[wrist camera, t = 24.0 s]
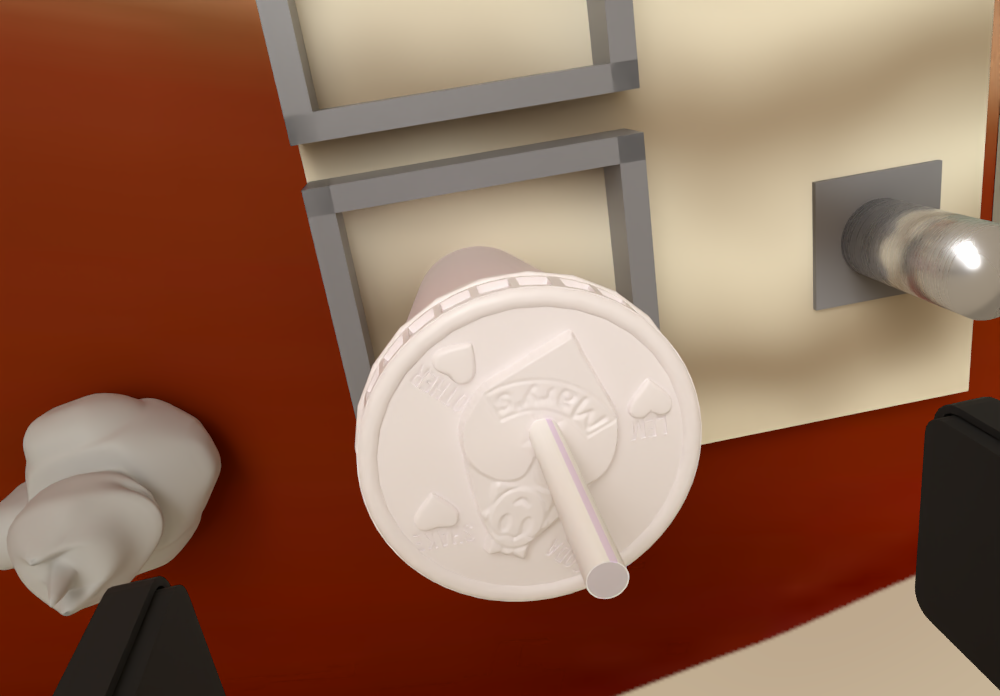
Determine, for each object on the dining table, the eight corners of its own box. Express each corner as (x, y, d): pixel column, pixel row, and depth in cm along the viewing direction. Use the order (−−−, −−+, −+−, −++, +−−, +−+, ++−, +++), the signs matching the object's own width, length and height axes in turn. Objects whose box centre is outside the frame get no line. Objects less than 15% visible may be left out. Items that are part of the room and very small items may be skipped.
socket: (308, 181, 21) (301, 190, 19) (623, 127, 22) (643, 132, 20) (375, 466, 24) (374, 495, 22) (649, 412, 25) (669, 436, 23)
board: (196, -315, 18) (181, -346, 17) (987, -411, 19) (1030, -447, 18) (384, 489, 26) (384, 512, 24) (944, 377, 27) (972, 393, 26)
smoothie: (610, 227, 22) (915, 433, 9) (551, 423, 24) (737, 826, 11) (394, 174, 21) (394, 327, 8) (349, 385, 23) (291, 790, 10)
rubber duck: (264, 488, 25) (209, 662, 18) (74, 557, 25) (-63, 761, 18) (188, 342, 23) (91, 467, 16) (-17, 416, 23) (-215, 578, 16)
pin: (837, 204, 23) (950, 235, 18) (912, 190, 23) (1042, 217, 19) (837, 279, 24) (945, 328, 19) (909, 266, 24) (1033, 311, 19)
